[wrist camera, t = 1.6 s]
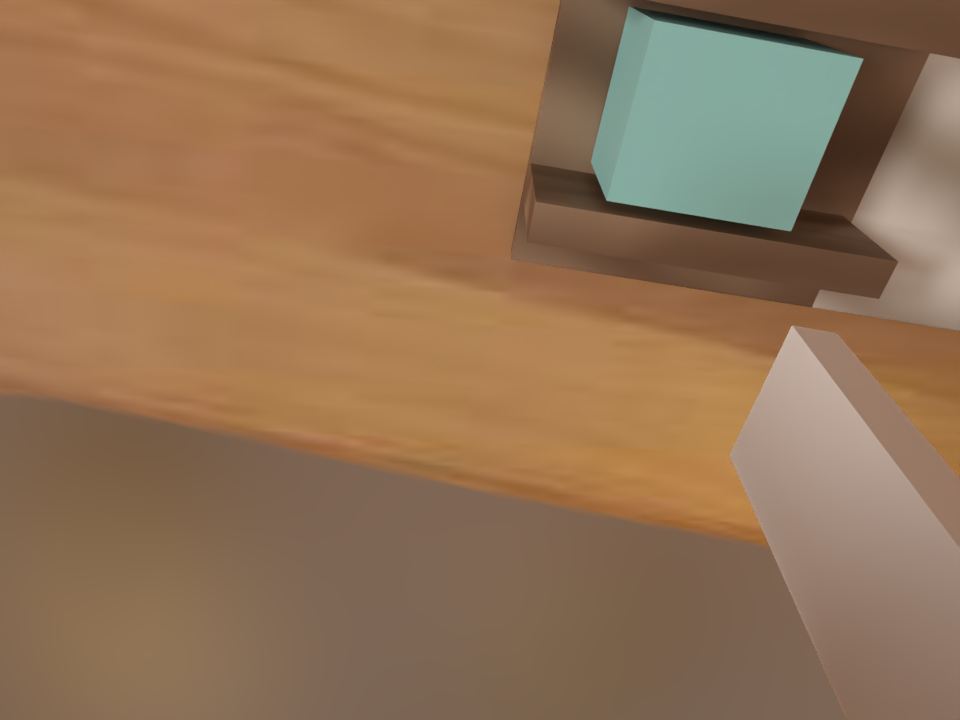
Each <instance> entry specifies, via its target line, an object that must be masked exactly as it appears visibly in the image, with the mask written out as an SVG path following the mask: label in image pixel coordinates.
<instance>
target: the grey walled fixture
mask: <svg viewBox="0 0 960 720" xmlns="http://www.w3.org/2000/svg"><path fill="white" fill-rule="evenodd" d="M629 6H632V7H637V8H643V9H648V10H653V11H659V12H664V13H670V14H675V15H680V16H686V17H691V18H697V19H702V20H707V21H713V22H718V23H723V24H729V25H734V26H740V27H745V28H750V29H756V30H761V31H767V32H772V33H777V34H783V35H788V36H793V37H799V38H804V39H808V40H811V41H813V42H816V43H819V44H822V45H825V46H828V47H831V48H834V49H837V50H840V51H842V52H845V53H848V54H851V55H854V56H857V57H860V58H863V61H862V64H861V66H860V69H859V71H858V73H857V76H856V78H855V80H854V83H853V85H852V88H851V90H850V92H849V95H848V97H847V100H846V102H845V104H844V107H843V109H842V111H841V114H840V116H839V119H838V121H837V123H836V126H835V128H834V130H833V133H832V135H831V138H830V140H829V142H828V145H827V147H826V149H825V152H824V154H823V157H822V159H821V161H820V164H819V166H818V168H817V171H816V173H815V176H814V178H813V180H812V183H811V185H810V188H809V190H808V192H807V195H806V197H805V199H804V202H803V204H802V207H801V209H800V211H799V214H798V216H797V218H796V221H795V223H794V226H793V228H792V230H791V231H785V230H779V229H773V228H767V227H761V226H755V225H749V224H743V223H737V222H731V221H725V220H719V219H713V218H707V217H701V216H695V215H689V214H683V213H677V212H671V211H665V210H659V209H653V208H647V207H641V206H635V205H629V204H623V203H617V202H611V201H606V198H605V196H604V193H603V191H602V188H601V186H600V183H599V181H598V179H597V176H596V174H595V171H594V169H593V166H592V164H591V159H592V155H593V151H594V147H595V143H596V139H597V135H598V131H599V127H600V122H601V118H602V114H603V110H604V106H605V102H606V98H607V94H608V90H609V86H610V82H611V78H612V74H613V70H614V66H615V61H616V57H617V53H618V49H619V45H620V41H621V37H622V33H623V29H624V25H625V21H626V17H627V13H628V9H629ZM511 260H517V261H524V262H530V263H536V264H543V265H549V266H555V267H561V268H568V269H574V270H580V271H587V272H593V273H599V274H605V275H612V276H618V277H624V278H631V279H637V280H643V281H649V282H656V283H662V284H668V285H675V286H681V287H687V288H693V289H700V290H706V291H712V292H719V293H725V294H731V295H737V296H744V297H750V298H756V299H763V300H769V301H775V302H781V303H788V304H794V305H800V306H807V307H813V308H819V309H825V310H832V311H838V312H844V313H851V314H857V315H863V316H870V317H876V318H882V319H888V320H895V321H901V322H907V323H914V324H920V325H926V326H932V327H939V328H945V329H951V330H958V331H960V0H561V1H560V6H559V11H558V16H557V21H556V26H555V31H554V36H553V41H552V46H551V52H550V57H549V62H548V67H547V72H546V77H545V82H544V87H543V92H542V97H541V102H540V107H539V112H538V117H537V122H536V127H535V132H534V137H533V142H532V147H531V152H530V157H529V162H528V167H527V172H526V177H525V182H524V187H523V192H522V197H521V203H520V208H519V213H518V218H517V223H516V228H515V233H514V238H513V243H512V248H511Z"/></svg>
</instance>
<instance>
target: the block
mask: <svg viewBox="0 0 960 720" xmlns="http://www.w3.org/2000/svg"><path fill="white" fill-rule="evenodd" d="M862 61H863V58H860V57H857V56H854V55H851V54H848V53H845V52H842V51H840V50H837V49H834V48H831V47H828V46H825V45H822V44H819V43H816V42H813V41H811V40H808V39H804V38H799V37H793V36H788V35H783V34H777V33H772V32H767V31H761V30H756V29H750V28H745V27H740V26H734V25H729V24H723V23H718V22H713V21H707V20H702V19H697V18H691V17H686V16H680V15H675V14H670V13H664V12H659V11H653V10H648V9H643V8H637V7H632V6H629V9H628V13H627V17H626V21H625V25H624V29H623V33H622V37H621V41H620V45H619V49H618V53H617V57H616V61H615V66H614V70H613V74H612V78H611V82H610V86H609V90H608V94H607V98H606V102H605V106H604V110H603V114H602V118H601V122H600V127H599V131H598V135H597V139H596V143H595V147H594V151H593V155H592V159H591V164H592V166H593V169H594V171H595V174H596V176H597V179H598V181H599V183H600V186H601V188H602V191H603V193H604V196H605V198H606V201H611V202H617V203H623V204H629V205H635V206H641V207H647V208H653V209H659V210H665V211H671V212H677V213H683V214H689V215H695V216H701V217H707V218H713V219H719V220H725V221H731V222H737V223H743V224H749V225H755V226H761V227H767V228H773V229H779V230H785V231H791V230H792V228H793V226H794V223H795V221H796V218H797V216H798V214H799V211H800V209H801V207H802V204H803V202H804V199H805V197H806V195H807V192H808V190H809V188H810V185H811V183H812V180H813V178H814V176H815V173H816V171H817V168H818V166H819V164H820V161H821V159H822V157H823V154H824V152H825V149H826V147H827V145H828V142H829V140H830V138H831V135H832V133H833V130H834V128H835V126H836V123H837V121H838V119H839V116H840V114H841V111H842V109H843V107H844V104H845V102H846V100H847V97H848V95H849V92H850V90H851V88H852V85H853V83H854V80H855V78H856V76H857V73H858V71H859V69H860V66H861V64H862Z"/></svg>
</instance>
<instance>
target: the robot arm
mask: <svg viewBox="0 0 960 720" xmlns="http://www.w3.org/2000/svg"><path fill="white" fill-rule="evenodd" d="M729 456H730V458H731V460H732V463H733V465H734V467H735V469H736V472H737V474H738V476H739V478H740V481H741V483H742V485H743V487H744V490H745V492H746V494H747V496H748V499H749V501H750V503H751V505H752V508H753V510H754V512H755V514H756V517H757V519H758V521H759V523H760V526H761V528H762V530H763V532H764V535H765V537H766V539H767V541H768V544H769V546H770V548H771V551H772V553H773V555H774V557H775V560H776V562H777V564H778V566H779V568H780V571H781V573H782V575H783V578H784V580H785V582H786V584H787V587H788V589H789V591H790V593H791V596H792V598H793V600H794V602H795V605H796V607H797V609H798V611H799V613H800V616H801V618H802V620H803V623H804V625H805V627H806V629H807V632H808V634H809V636H810V638H811V641H812V643H813V645H814V647H815V649H816V652H817V654H818V656H819V659H820V661H821V663H822V665H823V668H824V670H825V672H826V675H827V677H828V679H829V681H830V684H831V686H832V688H833V690H834V693H835V695H836V697H837V699H838V702H839V704H840V706H841V708H842V710H843V713H844V715H845V717H846V720H960V478H959V477H958V476H957V474H956V473H955V472H954V471H953V470H952V469H951V467H950V466H949V465H948V464H947V463H946V461H945V460H944V459H943V458H942V457H941V456H940V454H939V453H938V452H937V451H936V450H935V448H934V447H933V446H932V445H931V444H930V443H929V441H928V440H927V439H926V438H925V437H924V435H923V434H922V433H921V432H920V431H919V430H918V428H917V427H916V426H915V425H914V424H913V422H912V421H911V420H910V419H909V418H908V417H907V415H906V414H905V413H904V412H903V411H902V410H901V408H900V407H899V406H898V405H897V404H896V402H895V401H894V400H893V399H892V398H891V397H890V395H889V394H888V393H887V392H886V391H885V389H884V388H883V387H882V386H881V385H880V384H879V382H878V381H877V380H876V379H875V378H874V376H873V375H872V374H871V373H870V372H869V371H868V369H867V368H866V367H865V366H864V365H863V364H862V362H861V361H860V360H859V359H858V358H857V356H856V355H855V354H854V353H853V352H852V351H851V349H850V348H849V347H848V346H847V345H846V343H845V342H844V341H843V340H842V339H841V338H840V336H839V335H838V334H837V333H833V332H827V331H822V330H816V329H811V328H805V327H799V326H794V325H792V326H791V328H790V330H789V333H788V335H787V337H786V339H785V341H784V343H783V345H782V347H781V349H780V351H779V353H778V355H777V358H776V360H775V362H774V364H773V366H772V368H771V370H770V372H769V374H768V376H767V378H766V380H765V382H764V385H763V387H762V389H761V391H760V393H759V395H758V397H757V399H756V401H755V403H754V405H753V407H752V410H751V412H750V414H749V416H748V418H747V420H746V422H745V424H744V426H743V428H742V430H741V432H740V435H739V437H738V439H737V441H736V443H735V445H734V447H733V449H732V451H731V453H730V455H729Z"/></svg>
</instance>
